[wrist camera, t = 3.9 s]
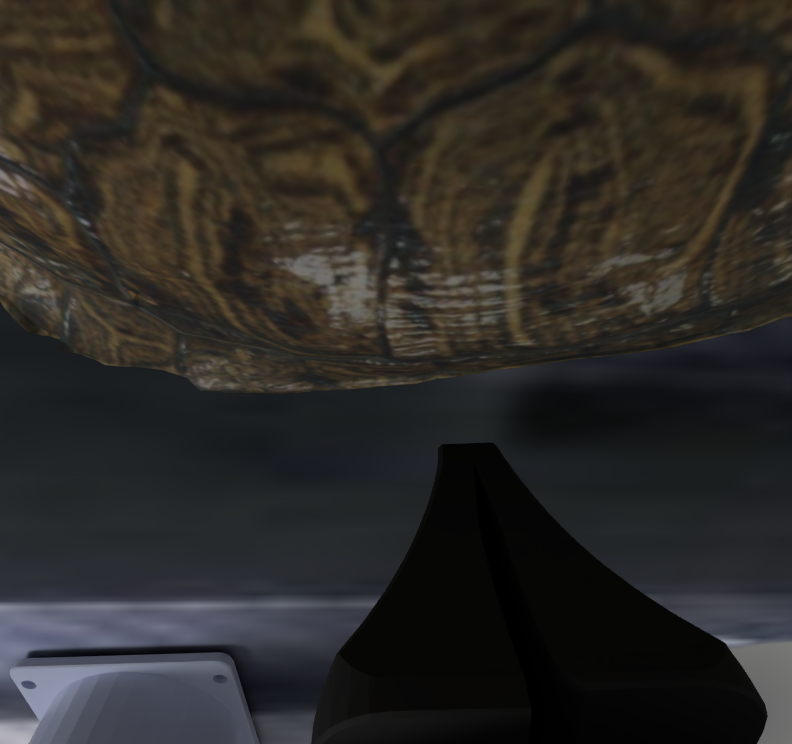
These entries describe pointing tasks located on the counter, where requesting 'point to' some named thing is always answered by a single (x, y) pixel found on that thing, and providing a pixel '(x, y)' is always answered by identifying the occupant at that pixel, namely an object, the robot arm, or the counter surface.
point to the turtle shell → (391, 182)
